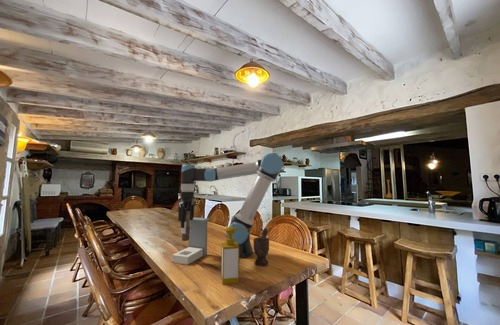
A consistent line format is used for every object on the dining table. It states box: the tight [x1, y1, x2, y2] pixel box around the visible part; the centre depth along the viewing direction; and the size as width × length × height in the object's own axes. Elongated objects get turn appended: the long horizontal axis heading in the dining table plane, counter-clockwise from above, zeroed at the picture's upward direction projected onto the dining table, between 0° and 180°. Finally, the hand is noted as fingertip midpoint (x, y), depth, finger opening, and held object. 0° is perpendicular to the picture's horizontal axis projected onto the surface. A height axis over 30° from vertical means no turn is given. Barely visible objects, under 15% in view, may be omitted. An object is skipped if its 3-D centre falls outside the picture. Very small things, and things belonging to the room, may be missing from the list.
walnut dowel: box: [181, 211, 190, 242], centre depth 122 cm, size 4×4×16 cm
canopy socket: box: [171, 216, 210, 266], centre depth 125 cm, size 14×18×22 cm
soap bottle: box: [220, 226, 249, 285], centre depth 98 cm, size 7×13×24 cm, turn 102°
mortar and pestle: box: [253, 228, 270, 267], centre depth 115 cm, size 12×9×20 cm
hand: (185, 232), depth 122 cm, fingers closed on walnut dowel, 4 cm apart
